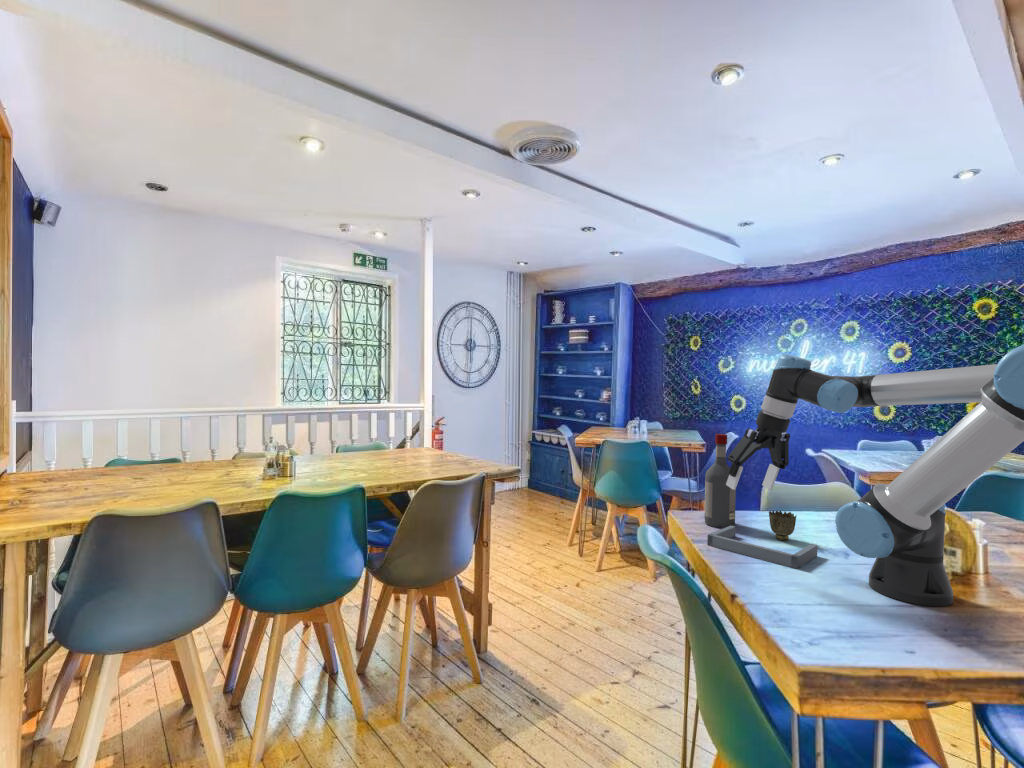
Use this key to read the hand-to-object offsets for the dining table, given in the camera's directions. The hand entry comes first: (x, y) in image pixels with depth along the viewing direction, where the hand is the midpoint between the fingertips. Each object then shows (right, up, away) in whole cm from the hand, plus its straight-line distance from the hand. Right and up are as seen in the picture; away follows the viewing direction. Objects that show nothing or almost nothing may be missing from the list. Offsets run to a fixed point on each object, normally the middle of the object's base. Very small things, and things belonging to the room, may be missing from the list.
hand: (748, 487), depth 136 cm
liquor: (+5, -19, +33) cm, 38 cm away
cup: (+18, -19, +17) cm, 32 cm away
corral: (+7, -19, +7) cm, 22 cm away
